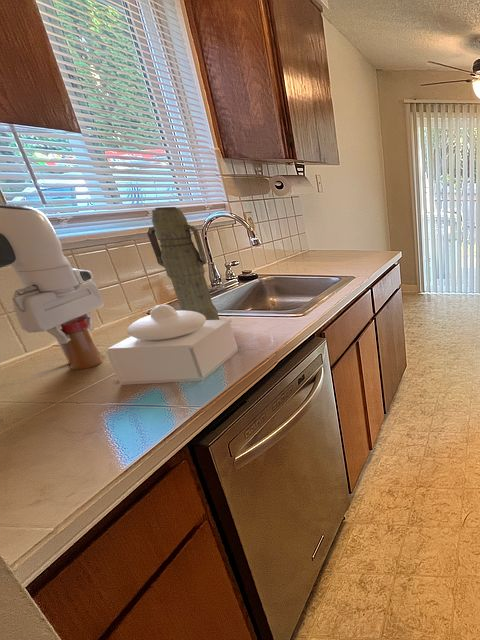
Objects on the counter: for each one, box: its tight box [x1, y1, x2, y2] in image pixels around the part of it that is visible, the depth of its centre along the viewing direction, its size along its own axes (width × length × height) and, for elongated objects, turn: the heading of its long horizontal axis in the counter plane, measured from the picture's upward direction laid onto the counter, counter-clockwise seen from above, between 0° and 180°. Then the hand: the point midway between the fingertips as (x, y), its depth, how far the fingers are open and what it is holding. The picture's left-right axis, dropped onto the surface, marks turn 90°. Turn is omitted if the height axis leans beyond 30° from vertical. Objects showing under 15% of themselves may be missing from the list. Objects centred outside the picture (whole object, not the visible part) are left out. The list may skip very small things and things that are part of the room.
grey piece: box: [146, 206, 221, 320], centre depth 112 cm, size 9×12×35 cm
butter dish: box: [105, 303, 239, 386], centre depth 94 cm, size 18×18×16 cm
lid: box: [61, 317, 89, 333], centre depth 95 cm, size 7×7×2 cm
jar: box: [58, 327, 104, 371], centre depth 97 cm, size 6×6×10 cm
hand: (77, 337), depth 96 cm, fingers closed on jar, 6 cm apart
